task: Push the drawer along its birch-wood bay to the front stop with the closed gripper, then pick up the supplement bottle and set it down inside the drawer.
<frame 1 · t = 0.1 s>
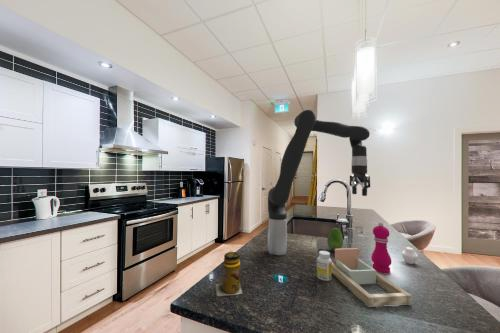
hand: (359, 194, 112), 29 cm above the worktop, tool pointing down, fingers open, 8 cm apart
condiment: (228, 290, 71), on the worktop
supplement bottle: (324, 278, 80), on the worktop
bay: (363, 284, 76), on the worktop
drawer: (354, 265, 81), point 5 cm above the worktop, slide at 0.0 cm
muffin: (409, 263, 95), on the worktop
pepper mill: (381, 270, 87), on the worktop
avocado: (335, 250, 109), on the worktop
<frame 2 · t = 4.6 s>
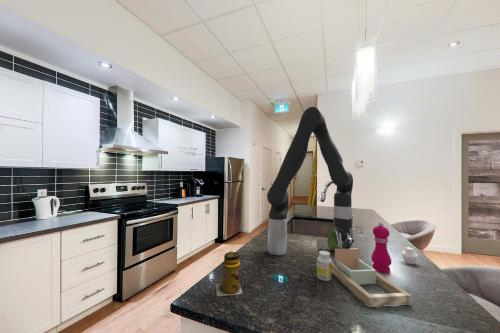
hand: (342, 256, 90), 5 cm above the worktop, tool pointing down, fingers closed
drawer: (354, 265, 81), point 5 cm above the worktop, slide at 0.1 cm, touching gripper
everything else where it was.
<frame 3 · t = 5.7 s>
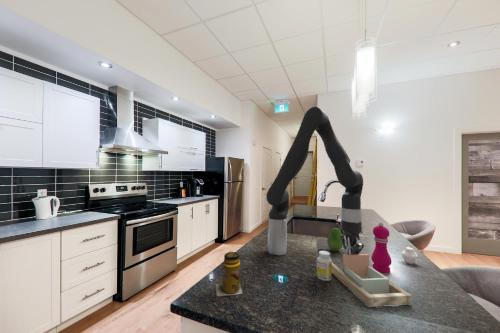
hand: (351, 262, 83), 5 cm above the worktop, tool pointing down, fingers closed
drawer: (364, 272, 75), point 5 cm above the worktop, slide at 6.3 cm, touching gripper
everything else where it was.
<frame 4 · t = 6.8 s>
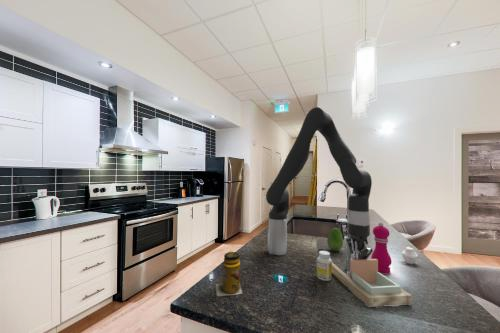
hand: (358, 267, 79), 5 cm above the worktop, tool pointing down, fingers closed
drawer: (373, 279, 70), point 5 cm above the worktop, slide at 11.0 cm, touching bay, gripper
everything else where it was.
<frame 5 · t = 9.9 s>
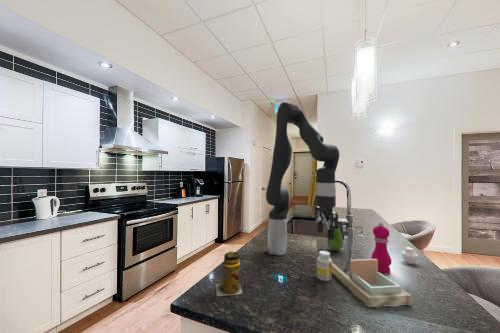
hand: (325, 235, 81), 16 cm above the worktop, tool pointing down, fingers open, 8 cm apart
drawer: (373, 279, 70), point 5 cm above the worktop, slide at 11.0 cm
everything else where it was.
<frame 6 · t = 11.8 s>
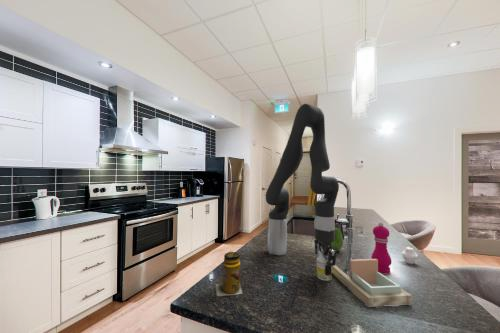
hand: (324, 271, 80), 2 cm above the worktop, tool pointing down, fingers closed on supplement bottle, 5 cm apart
supplement bottle: (324, 278, 80), on the worktop, touching gripper
everything else where it was.
when the fingers open (5 cm above the worktop, at t = 16.9 s): supplement bottle drops 2 cm, resting on drawer.
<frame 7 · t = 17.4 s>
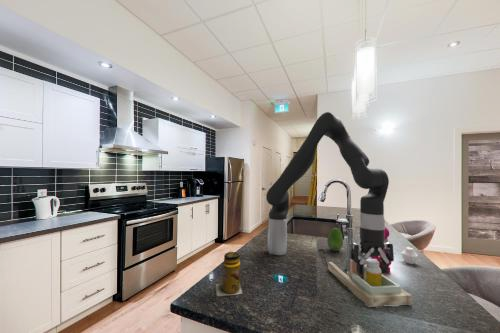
hand: (372, 273, 71), 6 cm above the worktop, tool pointing down, fingers open, 8 cm apart
supplement bottle: (372, 289, 71), point 1 cm above the worktop, touching drawer
drawer: (373, 279, 70), point 5 cm above the worktop, slide at 11.0 cm, touching supplement bottle
everything else where it was.
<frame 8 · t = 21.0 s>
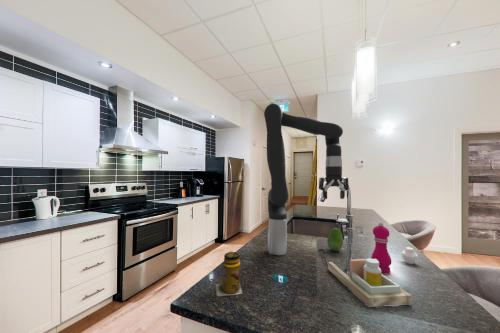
hand: (333, 198, 102), 28 cm above the worktop, tool pointing down, fingers open, 8 cm apart
nothing on the worktop moved.
at the end: drawer slide at 10.9 cm; supplement bottle inside the target area on the drawer (0.9 cm from its centre), point 0.7 cm above the drawer's base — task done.
